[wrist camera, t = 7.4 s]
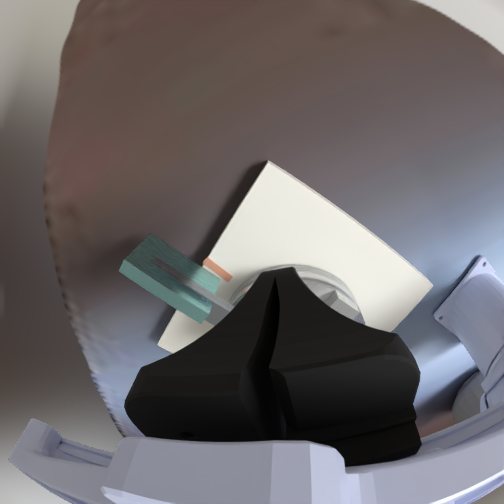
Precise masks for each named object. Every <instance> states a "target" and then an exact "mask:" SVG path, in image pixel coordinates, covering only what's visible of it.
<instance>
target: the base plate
mask: <svg viewBox="0 0 504 504" xmlns="http://www.w3.org/2000/svg"><path fill="white" fill-rule="evenodd" d="M287 265H305V266H311V267H316V268H319V269H323V270H325V271H327V272H329V273H332V274H333V275H335V276H336V277H338V278H339V279H340V280H342V281H343V282H344V283H345V284H346V285H347V286H348V287H349V289H350V290H351V292H352V293H353V295H354V297H355V299H356V302H357V304H358V306H359V309H360V311H361V313H362V316H363V318H364V321H365V325H367V326H369V327H372V328H376V329H379V330H383V331H387V332H392V331H393V330H394V329H395V328H396V327H397V326H398V325H399V323H400V322H401V321H402V320H403V319H404V318H405V317H406V316H407V315H408V314H409V313H410V312H411V311H412V310H413V309H414V307H415V306H416V305H417V304H418V303H419V302H420V301H421V300H422V298H423V297H424V296H425V295H426V294H427V293H428V291H429V290H430V289H431V288H432V287H433V284H432V283H431V282H430V281H429V280H428V279H427V277H425V276H424V275H423V274H422V273H421V272H420V271H419V270H417V269H416V268H415V267H414V266H413V265H412V264H410V263H409V262H408V261H407V260H406V259H404V258H403V257H402V256H401V255H400V254H398V253H397V252H396V251H395V250H393V249H392V248H391V247H390V246H388V245H387V244H386V243H385V242H383V241H382V240H381V239H380V238H378V237H377V236H376V235H375V234H373V233H372V232H371V231H369V230H368V229H367V228H366V227H364V226H363V225H362V224H360V223H359V222H358V221H356V220H355V219H354V218H352V217H351V216H350V215H348V214H347V213H345V212H344V211H343V210H341V209H340V208H339V207H337V206H336V205H334V204H333V203H332V202H330V201H329V200H327V199H326V198H325V197H323V196H322V195H320V194H319V193H317V192H316V191H314V190H313V189H311V188H310V187H309V186H307V185H306V184H304V183H303V182H301V181H300V180H298V179H297V178H295V177H294V176H292V175H291V174H289V173H287V172H286V171H284V170H283V169H281V168H280V167H278V166H277V165H275V164H273V163H272V162H270V161H269V160H268V162H267V163H266V165H265V166H264V168H263V169H262V171H261V172H260V174H259V175H258V177H257V179H256V180H255V182H254V183H253V185H252V186H251V188H250V189H249V191H248V193H247V194H246V196H245V197H244V199H243V200H242V202H241V204H240V205H239V207H238V208H237V210H236V211H235V213H234V215H233V216H232V218H231V219H230V221H229V223H228V224H227V226H226V227H225V229H224V231H223V232H222V234H221V236H220V237H219V239H218V240H217V242H216V244H215V245H214V247H213V249H212V250H211V252H210V254H209V255H208V257H207V258H206V259H205V260H204V261H203V265H202V267H203V268H204V269H206V270H208V271H209V272H211V273H212V274H214V275H215V276H217V277H219V278H220V279H221V280H220V283H219V286H218V289H217V292H216V295H217V296H218V297H220V298H221V299H223V300H225V301H226V302H229V300H230V298H231V296H232V295H233V293H234V292H235V291H236V290H237V289H238V288H239V287H240V285H242V284H243V283H244V282H245V281H247V280H248V279H249V278H251V277H253V276H254V275H256V274H258V273H260V272H263V271H265V270H268V269H271V268H275V267H280V266H287ZM213 327H214V325H212V324H211V323H209V322H207V321H205V320H204V321H203V323H202V324H200V323H198V322H197V321H195V320H193V319H192V318H190V317H188V316H187V315H185V314H183V313H182V312H180V311H179V310H177V309H176V311H175V313H174V315H173V316H172V318H171V320H170V322H169V323H168V325H167V327H166V329H165V330H164V332H163V334H162V336H161V338H160V340H159V342H158V344H157V345H158V346H160V347H162V348H163V349H165V350H167V351H169V352H171V353H175V352H177V351H178V350H180V349H182V348H184V347H186V346H187V345H189V344H190V343H192V342H194V341H195V340H197V339H198V338H199V337H201V336H202V335H204V334H205V333H206V332H208V331H209V330H210V329H212V328H213Z"/></svg>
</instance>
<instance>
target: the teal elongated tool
mask: <svg viewBox="0 0 504 504" xmlns="http://www.w3.org/2000/svg"><path fill="white" fill-rule="evenodd" d="M286 267H294V268H295V269H296V271H297V273H298V275H299V276H300V278H301V279H302V280H303V282H304V283H305V284H306V285H307V286H308V287H309V289H310V290H311V291H312V292H313V293H314V294H315V295H316V296H318V297H319V298H320V299H321V300H322V301H323V302H324V303H326V304H327V305H328V306H330V307H331V308H333V309H334V310H335V311H337V312H339V313H340V314H342V315H344V316H346V317H348V318H350V319H352V320H354V321H356V322H359V323H361V324H364V325H365V321H364V318H363V316H362V313H361V311H360V309H359V306H358V304H357V302H356V299H355V297H354V295H353V293H352V292H351V290H350V289H349V287H348V286H347V285H346V284H345V283H344V282H343V281H342V280H340V279H339V278H338V277H336V276H335V275H333V274H332V273H329V272H327V271H325V270H323V269H319V268H316V267H311V266H305V265H287V266H280V267H275V268H271V269H268V270H265V271H270V270H276V269H281V268H286ZM265 271H263V272H265ZM119 272H121V273H122V274H124V275H125V276H126V277H128V278H129V279H131V280H132V281H134V282H135V283H137V284H138V285H140V286H141V287H143V288H144V289H146V290H147V291H149V292H150V293H152V294H153V295H155V296H156V297H158V298H159V299H161V300H163V301H164V302H166V303H167V304H169V305H170V306H172V307H174V308H175V309H177V310H179V311H180V312H182V313H183V314H185V315H187V316H188V317H190V318H192V319H193V320H195V321H197V322H198V323H200V324H202V323H203V321H204V320H205V321H207V322H209V323H211V324H212V325H214V326H215V325H217V324H218V323H219V322H220V321H221V320H222V319H223V318H224V317H225V316H226V315H228V314H229V313H230V311H231V310H232V309H233V308H234V307H235V306H236V305H237V304H238V302H239V301H240V300H241V299H242V298H243V297H244V295H245V294H246V293H247V291H248V290H249V289H250V287H251V286H252V285H253V283H254V282H255V280H256V279H257V278H258V276H259V275H260V273H261V272H260V273H258V274H256V275H254V276H253V277H251V278H249V279H248V280H247V281H245V282H244V283H243V284H242V285H240V287H239V288H238V289H237V290H236V291H235V292H234V293H233V295H232V296H231V298H230V300H229V302H226V301H225V300H223V299H221V298H220V297H218V296H217V295H216V292H217V289H218V286H219V283H220V280H221V279H220V278H219V277H217V276H215V275H214V274H212V273H211V272H209V271H208V270H206V269H204V268H203V267H201V266H200V265H198V264H197V263H195V262H194V261H192V260H191V259H189V258H187V257H186V256H184V255H183V254H181V253H180V252H178V251H177V250H175V249H174V248H172V247H171V246H169V245H168V244H166V243H165V242H163V241H162V240H160V239H159V238H157V237H156V236H154V235H153V234H150V235H149V236H148V237H147V238H146V239H145V240H143V241H142V242H141V243H140V244H139V245H138V246H137V247H136V248H135V249H134V250H133V251H132V252H131V253H130V254H129V255H128V256H127V257H126V258H125V259H124V261H123V263H122V265H121V267H120V270H119Z"/></svg>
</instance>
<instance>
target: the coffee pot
mask: <svg viewBox="0 0 504 504" xmlns="http://www.w3.org/2000/svg"><path fill="white" fill-rule="evenodd" d="M484 379H485V378H484V377H483V375H482V373H481V372H480V370H479V371H477V372H476V373H475V374H473V375H472V376H471V377H470V378H469V379H468V380H467V381H466V382H465V383H464V384H463V385H462V386H461V388H460V389H459V391H458V393H457V397H456V399H455V402H454V405H453V407H452V416H453V419H454V420H456V421H457V422H458V423H460V422H462V421H464V420H467V419H469V418H471V417H473V416H475V415H477V414H479V413H480V400H481V396H482V395H483V394H484V393H485V392H484V390H483V388H482V386H481V383H482V382H483V381H484Z"/></svg>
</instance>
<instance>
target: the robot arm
mask: <svg viewBox="0 0 504 504" xmlns="http://www.w3.org/2000/svg"><path fill="white" fill-rule="evenodd" d="M483 263H484V264H483ZM433 317H434V319H435V320H436V321H438V322H439V323H440V324H442V325H443V326H444V327H445V328H447V329H448V330H449V331H450V332H452V333H453V334H454V335H455V336H457V337H458V338H459V339H460V340H461V342H462V343H463V345H464V346H465V348H466V349H467V351H468V353H469V354H470V356H471V357H472V359H473V360H474V362H475V363H476V365H477V367H478V368H479V370H480V372H481V373H482V375H483V377H484V378H485V379H484V381H483V382H482V383H481V386H482V388H483V390H484V392H485V393H484V394H483V395H482V396H481V400H480V413H479V414H477V415H475V416H473V417H471V418H469V419H467V420H464V421H462V422H460V423H458V424H456V425H453V426H451V427H449V428H446V429H444V430H441V431H439V432H436V433H434V434H431V435H429V436H426V437H423V438H420V436H419V433H418V430H417V427H416V424H415V420H416V418H417V417H416V412H415V409H414V406H413V402H414V399H415V396H416V392H417V389H418V386H419V382H420V370H419V368H418V365H417V363H416V360H415V359H414V357H413V355H412V353H411V352H410V350H409V349H408V348H407V346H406V345H405V343H404V342H403V341H402V339H401V338H400V337H399V335H398V334H395V333H391V332H387V331H383V330H379V329H376V328H372V327H369V326H367V325H364V324H361V323H359V322H356V321H354V320H352V319H350V318H348V317H346V316H344V315H342V314H340V313H339V312H337V311H335V310H334V309H333V308H331V307H330V306H328V305H327V304H326V303H324V302H323V301H322V300H321V299H320V298H319V297H318V296H316V295H315V294H314V293H313V292H312V291H311V290H310V289H309V287H308V286H307V285H306V284H305V283H304V282H303V280H302V279H301V278H300V276H299V275H298V273H297V271H296V269H295V268H294V267H286V268H281V269H276V270H270V271H265V272H261V273H260V275H259V276H258V278H257V279H256V280H255V282H254V283H253V285H252V286H251V287H250V289H249V290H248V291H247V293H246V294H245V295H244V297H243V298H242V299H241V300H240V301H239V302H238V304H237V305H236V306H235V307H234V308H233V309H232V310H231V311H230V313H229V314H228V315H226V316H225V317H224V318H223V319H222V320H221V321H220V322H219V323H218V324H217V325H215V326H214V327H213V328H212V329H210V330H209V331H208V332H206V333H205V334H204V335H202V336H201V337H199V338H198V339H197V340H195V341H194V342H192V343H190V344H189V345H187V346H186V347H184V348H182V349H180V350H178V351H177V352H175V353H173V354H171V355H169V356H167V357H165V358H163V359H160V360H158V361H156V362H153V363H151V364H149V365H146V366H144V367H141V369H140V371H139V373H138V375H137V377H136V379H135V381H134V383H133V385H132V387H131V389H130V391H129V393H128V395H127V397H126V400H125V404H124V408H125V410H126V413H127V415H128V417H129V418H130V420H131V421H132V422H133V424H134V425H135V426H136V427H137V428H138V429H139V430H140V431H141V432H142V433H143V434H144V435H145V436H146V437H125V438H122V439H121V440H120V442H119V443H118V445H117V447H116V450H115V452H114V453H111V452H107V451H103V450H99V449H96V448H93V447H89V446H86V445H83V444H80V443H76V442H73V441H70V440H68V439H65V438H62V436H61V435H60V434H59V433H58V432H57V431H56V430H55V429H54V428H52V427H51V426H50V425H48V424H46V423H44V422H41V421H38V420H36V419H31V420H30V422H29V423H28V425H27V427H26V429H25V430H24V432H23V433H22V435H21V437H20V439H19V440H18V442H17V444H16V446H15V447H14V449H13V451H12V453H11V455H10V457H9V459H8V460H9V462H11V463H12V464H13V465H14V466H15V467H17V468H18V469H19V470H21V471H22V472H23V473H25V474H26V475H27V476H29V477H30V478H31V479H33V480H34V481H35V482H37V483H38V484H40V485H41V486H43V487H44V488H46V489H47V490H49V491H50V492H52V493H54V494H55V495H57V496H59V497H61V498H63V499H64V500H66V501H68V502H70V503H72V504H470V503H472V502H474V501H476V500H478V499H479V498H481V497H483V496H484V495H486V494H488V493H489V492H491V491H493V490H494V489H496V488H497V487H499V486H500V485H502V484H503V483H504V284H503V283H502V281H501V280H500V278H499V277H498V275H497V274H496V272H495V271H494V269H493V268H492V267H491V265H490V264H489V262H488V261H487V260H486V258H485V257H484V256H480V257H479V258H478V259H477V261H476V262H475V264H474V265H473V266H472V268H471V269H470V270H469V272H468V273H467V274H466V276H465V277H464V278H463V279H462V281H461V282H460V283H459V284H458V286H457V287H456V288H455V289H454V291H453V292H452V293H451V294H450V295H449V297H448V298H447V299H446V300H445V301H444V303H443V304H442V305H441V306H440V307H439V308H438V309H437V311H436V312H435V313H434V315H433Z"/></svg>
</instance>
